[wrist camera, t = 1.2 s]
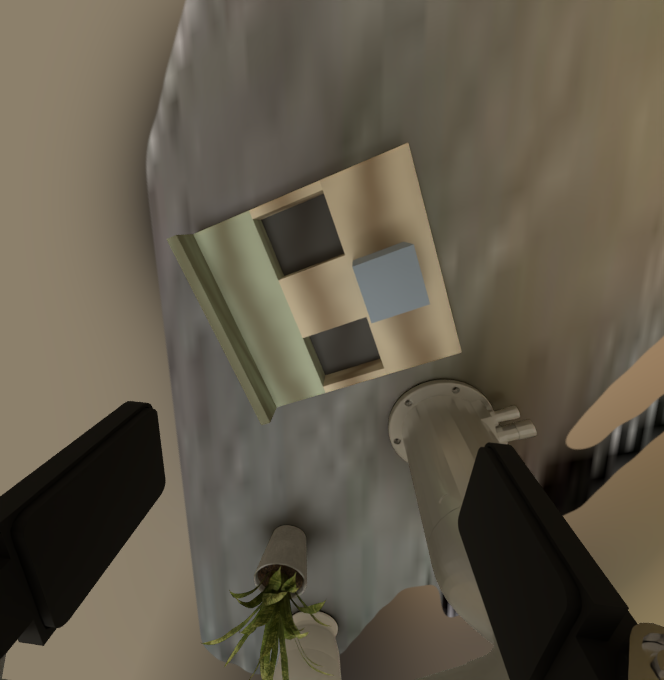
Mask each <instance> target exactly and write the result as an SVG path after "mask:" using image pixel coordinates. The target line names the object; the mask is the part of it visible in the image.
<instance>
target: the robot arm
mask: <svg viewBox="0 0 664 680" xmlns="http://www.w3.org/2000/svg"><path fill="white" fill-rule="evenodd" d="M454 387H455V388H454ZM407 400H408V401H407ZM517 418H520V413H519V411H518V409H517V407H516V406H515V405H514V406H510V407H506V408H503V409H501V410H497V411H494V410H493V408H492V406H491V404H490V403H489V401H488V400H487V399H486V397H485V396H484V395H483V394H482V393H481V392H480V391H478V390H477V389H475V388H474V387H473V386H470V385H468V384H466V383H464V382H460V381H455V380H444V379H442V380H433V381H429V382H425V383H422V384H420V385H418V386H416V387H413V388H412V389H410V390H409V391H407V392H406V393H405V394H403V395H402V397H401V398H400V399H399V400H398V401H397V402H396V404H395V405H394V407H393V408H392V411H391V413H390V416H389V421H388V432H389V437H390V441H391V444H392V446H393V448H394V450H395V451H396V452H397V454H398V455H399V456H400V457H401V458H402V459H403V460H404V461H406V462H407V463H409V467H410V472H411V476H412V481H413V485H414V489H415V494H416V498H417V502H418V507H419V511H420V515H421V520H422V524H423V528H424V533H425V537H426V542H427V546H428V550H429V555H430V559H431V564H432V568H433V571H434V574H435V578H436V580H437V582H438V585H439V587H440V589H441V591H442V593H443V594H444V596H445V598H446V599H447V601H448V602H449V604H450V605H451V606H452V607H453V608H454V610H455V611H456V612H457V613H458V614H459V615H460V616H461V617H462V618H463V619H464V620H465V621H466V622H467V623H468V624H469V625H470V626H471V627H472V628H474V629H475V630H476V631H477V632H478V633H480V634H481V635H482V636H483V637H484V638H485V639H487V640H488V641H489V642H490V643H492V644H493V645H494V647H493V649H492V650H491V652H490V653H488V654H487V655H485V656H483V657H480V658H478V659H475V660H472V661H470V662H468V663H467V664H465V665H462V666H459V667H455V668H452V669H449V670H445V671H442V672H439V673H436V674H432V675H429V676H426V677H423V678H419V679H416V680H664V627H662V626H660V625H656V624H654V623H639V624H637V623H636V621H635V620H634V618H633V617H632V616H631V614H630V613H629V611H628V609H629V608H628V606H627V605H626V603H625V602H624V601H623V599H622V598H621V596H620V595H619V594H618V593H617V591H616V590H615V588H614V587H613V585H612V584H611V583H610V581H609V580H608V578H607V577H606V576H605V574H604V573H603V572H602V570H601V569H600V567H599V566H598V565H597V563H596V562H595V560H594V559H593V558H592V556H591V555H590V553H589V552H588V551H587V549H586V548H585V547H584V545H583V544H582V542H581V541H580V540H579V538H578V537H577V536H576V534H575V533H574V531H573V530H572V529H571V527H570V526H569V524H568V523H567V522H566V520H565V519H564V517H563V516H562V515H561V513H560V512H559V510H558V509H557V508H556V506H555V505H554V504H553V502H552V501H551V499H550V498H549V497H548V495H547V494H546V492H545V491H544V490H543V488H542V487H541V486H540V484H539V483H538V481H537V480H536V479H535V477H534V476H533V474H532V473H531V472H530V470H529V469H528V467H527V466H526V465H525V463H524V462H523V461H522V459H521V458H520V456H519V455H518V454H517V452H516V451H515V449H514V448H513V447H512V446H511V445H508V442H509V441H513V440H517V439H519V440H522V439H526V438H530V437H535V436H537V432H536V429H535V427H534V425H533V423H532V422H531V420H530V419H526V420H522V421H518V422H514V423H512V424H509V425H505V426H500V425H499V424H498V422H502V421H506V420H507V421H509V420H513V419H517ZM164 487H165V473H164V464H163V456H162V448H161V440H160V431H159V423H158V415H157V411H156V410H155V409H153V408H152V406H151V404H149V403H143V402H134V401H127V402H126V403H124V404H123V405H121V406H120V407H119V408H117V409H116V410H115V411H113V412H112V413H111V414H109V415H108V416H107V417H105V418H104V419H103V420H101V421H100V422H99V423H97V424H96V425H95V426H93V427H92V428H91V429H89V430H88V431H87V432H85V433H84V434H83V435H81V436H80V437H79V438H77V439H76V440H75V441H73V442H72V443H71V444H69V445H68V446H67V447H65V448H64V449H63V450H61V451H60V452H59V453H57V454H56V455H55V456H53V457H52V458H51V459H50V460H48V461H47V462H46V463H44V464H43V465H41V466H40V467H39V468H37V469H36V470H35V471H33V472H32V473H31V474H29V475H28V476H27V477H25V478H24V479H23V480H21V481H20V482H19V483H17V484H16V485H15V486H14V487H12V488H11V489H10V490H8V491H7V492H6V493H4V494H3V495H2V496H0V680H6V679H2V674H3V668H4V662H5V657H6V653H7V651H8V650H9V649H10V648H11V647H12V645H13V644H14V643H15V642H16V641H17V639H18V641H19V642H22V643H29V644H35V645H42V646H44V644H45V643H46V642H47V640H48V639H49V638H50V636H51V635H52V634H53V632H54V631H55V630H56V628H60V627H62V626H63V625H64V624H66V622H68V620H69V619H70V618H71V617H72V615H73V614H74V612H75V611H76V610H77V608H78V607H79V606H80V604H81V603H82V602H83V600H84V599H85V597H86V596H87V595H88V593H89V592H90V591H91V589H92V588H93V587H94V585H95V584H96V583H97V581H98V580H99V578H100V577H101V576H102V574H103V573H104V572H105V570H106V569H107V568H108V566H109V565H110V563H111V562H112V561H113V559H114V558H115V557H116V555H117V554H118V553H119V551H120V550H121V548H122V547H123V546H124V544H125V543H126V542H127V540H128V539H129V538H130V536H131V535H132V533H133V532H134V531H135V529H136V528H137V527H138V525H139V524H140V522H141V521H142V520H143V518H144V517H145V516H146V514H147V513H148V512H149V510H150V509H151V507H152V506H153V505H154V503H155V502H156V501H157V499H158V498H159V497H160V495H161V494H162V492H163V490H164Z"/></svg>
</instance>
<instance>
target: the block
mask: <svg viewBox="0 0 664 680" xmlns="http://www.w3.org/2000/svg"><path fill="white" fill-rule="evenodd" d="M352 267H353V270H354V273H355V276H356V279H357V282H358V285H359V288H360V291H361V294H362V297H363V300H364V303H365V305H366V308H367V311H368V314H369V317H370V320H371V323H374V322H377V321H381V320H384V319H387V318H390V317H393V316H396V315H399V314H402V313H405V312H408V311H411V310H414V309H417V308H420V307H423V306H426V305H429V304H430V302H429V298H428V295H427V291H426V287H425V284H424V280H423V276H422V273H421V269H420V266H419V262H418V258H417V255H416V251H415V247H414V244H411V243H407V242H401V243H399V244H396V245H393V246H391V247H388V248H385V249H382V250H380V251H377V252H374V253H372V254H369V255H366V256H364V257H361V258H358V259H355V260H353V263H352Z"/></svg>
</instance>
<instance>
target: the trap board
mask: <svg viewBox="0 0 664 680" xmlns="http://www.w3.org/2000/svg"><path fill="white" fill-rule="evenodd" d="M167 241H168V243H169V245H170V247H171V249H172V251H173V253H174V255H175V257H176V259H177V261H178V263H179V265H180V266H181V268H182V270H183V272H184V274H185V276H186V278H187V280H188V282H189V284H190V286H191V288H192V290H193V292H194V294H195V296H196V298H197V300H198V302H199V304H200V306H201V308H202V310H203V311H204V313H205V315H206V317H207V319H208V321H209V323H210V325H211V327H212V329H213V331H214V333H215V335H216V337H217V339H218V341H219V343H220V345H221V347H222V349H223V351H224V353H225V354H226V356H227V358H228V360H229V362H230V364H231V366H232V368H233V370H234V372H235V374H236V376H237V378H238V380H239V382H240V384H241V386H242V388H243V390H244V392H245V394H246V396H247V398H248V399H249V401H250V403H251V405H252V407H253V409H254V411H255V413H256V415H257V417H258V419H259V421H260V423H261V425H264V424H267V423H270V422H271V419H272V417H273V415H274V412H275V410H276V408H277V407H279V406H283V405H286V404H289V403H293V402H296V401H299V400H303V399H306V398H310V397H313V396H316V395H320V394H323V393H327V392H330V391H333V390H337V389H340V388H343V387H347V386H350V385H354V384H357V383H360V382H364V381H367V380H370V379H374V378H377V377H381V376H384V375H387V374H391V373H394V372H397V371H401V370H404V369H408V368H411V367H414V366H418V365H421V364H425V363H428V362H431V361H435V360H438V359H441V358H445V357H448V356H452V355H455V354H458V353H462V352H461V348H460V344H459V340H458V336H457V332H456V328H455V324H454V320H453V316H452V312H451V308H450V304H449V301H448V297H447V293H446V289H445V285H444V281H443V277H442V273H441V269H440V265H439V261H438V257H437V253H436V250H435V246H434V242H433V238H432V234H431V230H430V226H429V222H428V218H427V214H426V210H425V206H424V202H423V199H422V195H421V191H420V187H419V183H418V179H417V175H416V171H415V167H414V163H413V159H412V155H411V152H410V148H409V144H408V143H406V144H404V145H401V146H399V147H397V148H394V149H392V150H390V151H387V152H385V153H383V154H380V155H378V156H375V157H373V158H371V159H368V160H366V161H364V162H361V163H359V164H357V165H354V166H352V167H350V168H347V169H345V170H343V171H340V172H338V173H336V174H333V175H331V176H329V177H326V178H324V179H322V180H319V181H317V182H315V183H312V184H310V185H308V186H305V187H303V188H301V189H298V190H296V191H293V192H291V193H289V194H286V195H284V196H282V197H279V198H277V199H275V200H272V201H270V202H268V203H265V204H263V205H261V206H258V207H256V208H254V209H251V210H249V211H247V212H244V213H242V214H240V215H237V216H235V217H233V218H230V219H228V220H226V221H223V222H221V223H218V224H216V225H214V226H211V227H209V228H207V229H204V230H202V231H200V232H197V233H195V234H189V235H175V236H173V237H171V238H168V239H167ZM401 242H407V243H411V244H414V247H415V251H416V255H417V258H418V262H419V266H420V269H421V273H422V276H423V280H424V284H425V287H426V291H427V295H428V298H429V302H430V304H429V305H426V306H423V307H420V308H417V309H414V310H411V311H408V312H405V313H402V314H399V315H396V316H393V317H390V318H387V319H384V320H381V321H377V322H374V323H371V320H370V317H369V314H368V311H367V308H366V305H365V303H364V300H363V297H362V294H361V291H360V288H359V285H358V282H357V279H356V276H355V273H354V270H353V267H352V263H353V260H355V259H358V258H361V257H364V256H366V255H369V254H372V253H374V252H377V251H380V250H382V249H385V248H388V247H391V246H393V245H396V244H399V243H401Z"/></svg>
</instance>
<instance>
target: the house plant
mask: <svg viewBox="0 0 664 680" xmlns="http://www.w3.org/2000/svg"><path fill="white" fill-rule="evenodd" d="M254 582H255V585H256V586H257V587H256V588H255V589H253V590H252V591H249V592H246V593H241V594H234V593H232V592H230V593H231V595H232V596H233V597H235V598H236V599H237V598H243V597H245V596H247V595H249V594H251V593H253V592H254V591H255V590H256V589H257V588H258V589H259V590H260V591H261V593H260V594H259V595H258V596H257V597H255V598H254V599H253V600H252V601H250V602H242V601H239V600H238V599H237V600H238V602H239V603H240V604H242V605H243V606H245V607H248V608H254V607H256V606H257V605H259V604H260V603H261V602H262V603H261V604H260V606H259V607H258V608H257V609H256V610H255V611H254V612H253V613H252V614H251V615H250V616H249V617H248V618H247V619H246V620H245V621H244V622H242V623H241V624H240V625H238V626H237V627H235V628H233V629H232V630H231V631H229V632H228V633H227V634H226V635H224V636H223V637H221V638H219V639H216V640H213V641H210V642H206V643H202V644H207V645H213V644H217V643H220V642H222V641H224V640H226V639H227V638H229V637H230V636H232V635H233V634H235V633H236V632H237V631H239V630H240V629H241V628H242V627H243V626H244V625H245V624H246V623H247V622H248V621H249V620H250V619H251V617H252V616H253V615H254V614H255V613H256V612H257V611H258V610H259V609H260V610H259V612H258V614H257V615H256V617H255V618H254V619H253V621H252V622H251V623H250V624H249V625H248V626H247V627H246V628H245V629H244V630H243V631H242V632H240V631H239V632H240V633H243V634H245V635H244V636H243V637H242V639H241V640H240V641H239V643H238V644H237V646H236V648H235V649H234V651H233V653H232V654H231V656H230V658H229V659H228V661H227V663H226V665H227V664H228V663H229V662H230V660H231V659H232V658H233V656H234V655H235V654H236V653H237V652H238V650H239V649H240V648H241V646H242V645H243V643H244V642H245V640H246V639H247V637H248V636H249V635H250V634H251V633H253V632H254V631H255V629H256V628H257V627H259V626H262V625H265V624H266V625H265V630H264V635H263V641H262V646H261V652H260V660H259V663H260V671H261V677H262V680H273V675H274V670H275V665H276V659H277V653H278V638H279V642H280V653H281V669H282V679H283V680H289V673H288V658H287V652H286V645H285V638H286V639H287V640H292V639H295V638H296V637H297V638H299V639H301V638H303V637H305V636H307V634H308V633H309V632H306V633H303V634H300V632H299V631H302V630H303V629H304V628H305V627H304V628H303V629H301V630H298V629H297V627H296V625H295V623H294V621H293V617H292V612H291V605H290V600H291V601H292V602H293V604H294V605H295V606H296V607H297V608H298V609H299V610H300V611H301V612H303V613H307V614H310V615H311V617H312V618H313V619H314V620H315V621H316V622H317V623H319V624H321V625H324V626H329V625H326V624H324V623H322V622H320V621H319V620H318V619H317V618H315V616H314V615H313V614H314V613H317V612H318V611H319V610H320V609H321V608H322V606H323V605H324V603H325V601H326V600H325V601H324V602H322V603H318V604H314V605H311V606H308V607H307V606H306V604H305V603H304V602H303V601H302V599H301V598H300V597H299V596H300V595H301V594H302V593H303V592H304V591H305V589H306V586H307V556H306V535H305V534H304V532H303V531H302V530H301V529H299V528H297V527H295V526H290V525H283V526H280V527H278V528H276V529H275V530H274V532H273V534H272V536H271V538H270V541H269V543H268V545H267V547H266V550H265V552H264V554H263V556H262V559H261V561H260V563H259V565H258V567H257V570H256V572H255V574H254ZM296 597H298V599H299V600H300V601H301V602H302V604H303V605H304V607H298V606H297V605H296V604H295V602H294V601H293V600H292V598H296ZM330 627H331V626H330ZM298 641H299V640H298ZM295 642H296V640H295ZM299 643H300V642H299ZM296 644H297V643H296ZM300 646H301V645H300ZM297 647H298V645H297ZM301 648H302V647H301ZM271 649H272V653H271V659H270V651H271ZM298 649H299V647H298ZM299 651H300V650H299ZM302 651H303V649H302ZM300 653H301V651H300ZM303 653H304V651H303ZM304 654H305V653H304ZM301 655H302V653H301ZM305 656H306V655H305ZM302 657H303V655H302ZM306 657H307V656H306ZM303 659H304V660H305V661H306V659H305V658H304V657H303ZM307 659H308V658H307ZM308 660H309V661H310V662H311V663H313V662H312V661H311V660H310V659H308ZM306 662H307V661H306ZM259 663H258V665H259ZM307 664H308V665H309V666H310V667H311V668H312V669H314V670H315V671H317V672H320V673H322V674H326V675H331V674H328V673H325V672H322V671H320V670H318V669H316V668H314V667H313V666H312V665H310V664H309V663H308V662H307ZM313 664H315V663H313ZM226 665H225V666H226ZM258 665H257V667H258ZM315 665H317V664H315ZM317 666H320V665H317ZM322 667H323V666H322ZM256 669H257V668H256ZM255 671H256V670H255ZM255 671H254V673H255ZM254 673H253V674H254ZM333 676H334V675H333ZM249 680H250V679H249Z"/></svg>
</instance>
